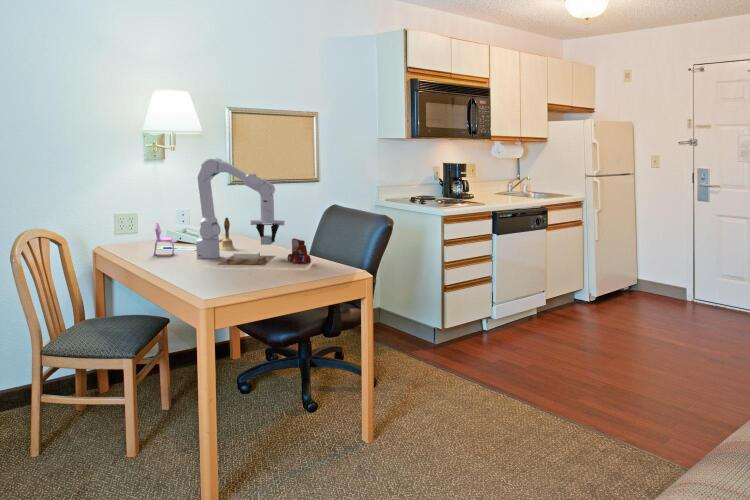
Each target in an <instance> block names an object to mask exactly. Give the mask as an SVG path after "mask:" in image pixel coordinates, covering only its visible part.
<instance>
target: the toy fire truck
mask: <svg viewBox="0 0 750 500" xmlns="http://www.w3.org/2000/svg"><path fill="white" fill-rule="evenodd" d="M305 243H306V241H305V240H303V239H302V240H301V239H298V238H292V239H291V246H292V247H291V253H289V254H287V261H288V262H290V263H293V264H294V265H299V264H302V263H304V264H305V263H307V264H311V259H312V258H311V256H310V255H309V253H308V250H307V245H306V244H305Z"/></svg>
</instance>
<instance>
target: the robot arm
mask: <svg viewBox="0 0 750 500" xmlns="http://www.w3.org/2000/svg"><path fill="white" fill-rule="evenodd" d="M220 173H227V174H229V175H231V176H233V177H235V178H237V179H239V180H241V181H243V184H244V186H246V187H248V188H250V189H251V190H253V191H255V192H257V193H258V194H259V196H260V198H259V199H260V200H259V201H260V202H259V203H260V219H251V220H250V226H255V228H256V230H257V231H258V234H259V237H260V238H261V237H263V236H265V226H270V227H271V235H272V242H274V241H275V242H276V235H277V231H278V230H279V228H280V226H285V220H278V219H275V204H274V203H275V199H274V194H275V192H276V187H275V185H274V184H273V183H272V182H271V181H267V179H262V178H260V177H258V176H257V174H256V173H251V172H249V173H246V172H244V171H242V170H240V169H239V168H237V167H236V166H234V165H233V164H231V163H229V162H227V161H226V160H222V159H221V158H207V159H205V160H204V161H203V162H202V163H201V165H200V170H199V172H198V175H197V184H198V192H199V199H200V200H199V201H200V206H201V207H200V209H201V215H202V216H201V217H202V219H201V221H200V228H199V235H200V236H201V238H198V239H197V241H196V260H199V259H218V258H220V257H221V255H220V253H221V252H220V251H221V250H220V236H219V235H220V234H221V231H222V229H221V226H220V225H219V223H218V218H217V217H216V214H215V205H214V198H213V192H212V182H211V181H212V180H213V179H214V177H216V175H219V174H220ZM275 242H274V243H275Z"/></svg>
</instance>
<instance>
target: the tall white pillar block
mask: <svg viewBox="0 0 750 500" xmlns="http://www.w3.org/2000/svg"><path fill="white" fill-rule="evenodd" d="M260 252H261V251H260ZM260 252H258V251H236V252H234V253H233V255H234V259H259V258H260V256H261V253H260Z"/></svg>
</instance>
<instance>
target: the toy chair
mask: <svg viewBox="0 0 750 500" xmlns="http://www.w3.org/2000/svg"><path fill="white" fill-rule="evenodd" d="M154 225H155V229H154V231H155V235H156V239H155V243H154V251H153V257H155V255H156V253H157V245H158V243H162V242H163V243H165V242H167V243H171V247H172V252H171V256H174V253H175V252H174V251H175V242H174V240H173V237H161V233H162V230H161V226H160V224H159V223H158V222H156V221H155V222H154Z"/></svg>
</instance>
